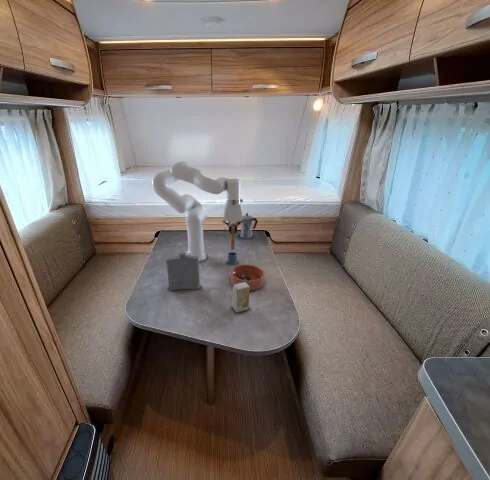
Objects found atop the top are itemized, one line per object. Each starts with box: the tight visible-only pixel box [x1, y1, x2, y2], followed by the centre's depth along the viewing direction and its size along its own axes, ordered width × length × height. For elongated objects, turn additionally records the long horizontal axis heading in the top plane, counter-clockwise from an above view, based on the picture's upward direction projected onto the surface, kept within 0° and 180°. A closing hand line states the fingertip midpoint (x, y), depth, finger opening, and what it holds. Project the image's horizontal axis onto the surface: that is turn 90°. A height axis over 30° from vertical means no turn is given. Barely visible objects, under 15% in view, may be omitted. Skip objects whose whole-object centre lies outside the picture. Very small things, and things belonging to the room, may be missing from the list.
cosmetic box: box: [231, 282, 251, 313], centre depth 119 cm, size 6×4×12 cm
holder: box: [227, 251, 238, 265], centre depth 160 cm, size 5×6×6 cm
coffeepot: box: [239, 212, 259, 239], centre depth 196 cm, size 15×9×18 cm, turn 51°
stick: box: [230, 222, 236, 251], centre depth 155 cm, size 2×2×16 cm
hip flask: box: [165, 250, 201, 291], centre depth 134 cm, size 16×4×20 cm, turn 92°
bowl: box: [230, 263, 265, 291], centre depth 140 cm, size 17×17×6 cm
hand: (232, 232), depth 154 cm, fingers closed on stick, 2 cm apart
